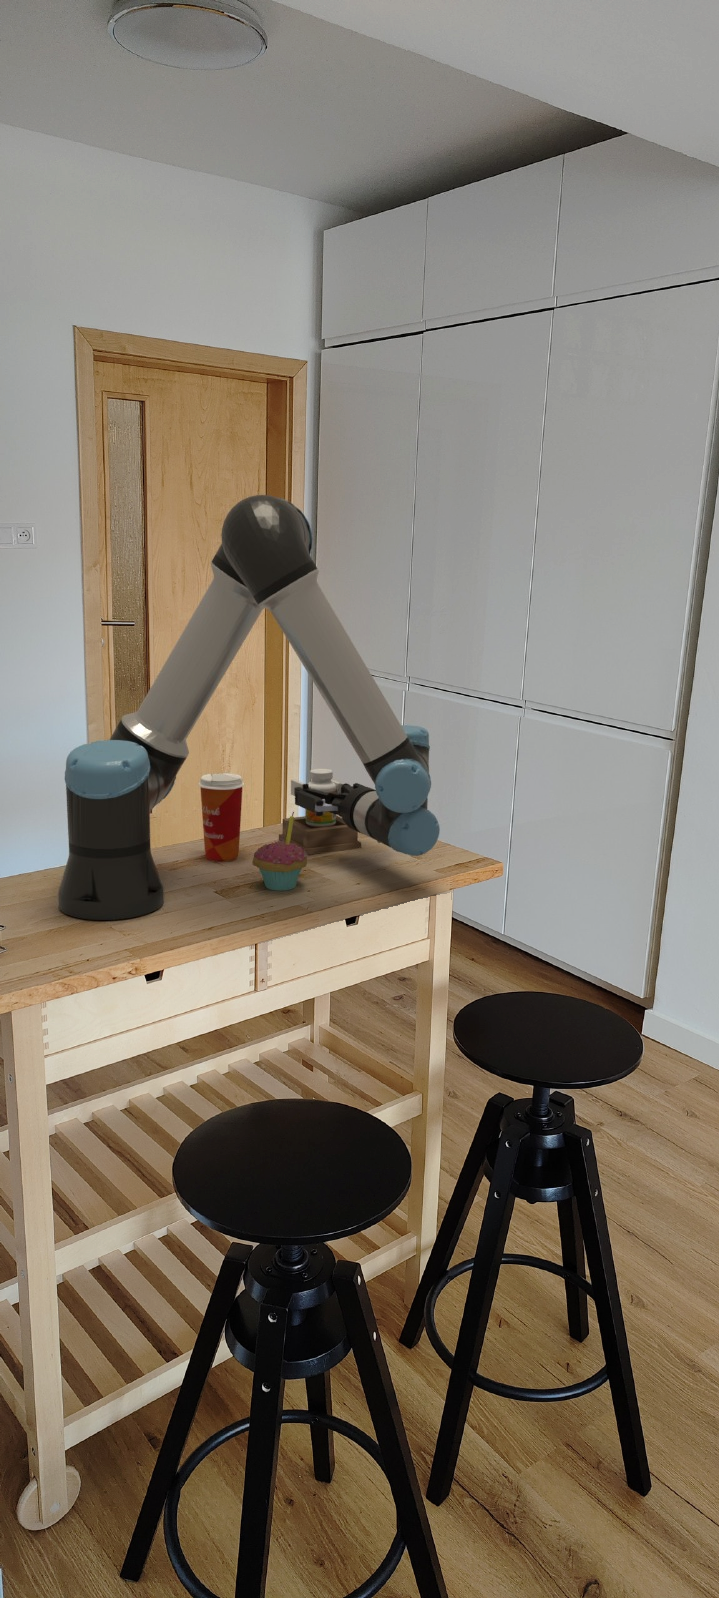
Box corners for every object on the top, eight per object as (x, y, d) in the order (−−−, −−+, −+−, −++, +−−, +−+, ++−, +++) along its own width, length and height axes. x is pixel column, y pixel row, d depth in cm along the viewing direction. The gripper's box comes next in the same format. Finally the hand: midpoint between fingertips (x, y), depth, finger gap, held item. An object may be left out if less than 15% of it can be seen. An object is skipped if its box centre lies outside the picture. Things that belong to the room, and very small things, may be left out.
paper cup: (193, 853, 186) (192, 773, 183) (236, 849, 189) (235, 771, 186) (207, 865, 179) (206, 783, 176) (251, 861, 182) (251, 780, 179)
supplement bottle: (300, 822, 194) (301, 769, 192) (327, 819, 196) (328, 766, 194) (313, 829, 189) (314, 774, 187) (341, 825, 192) (341, 772, 189)
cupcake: (298, 876, 174) (299, 804, 172) (314, 892, 166) (315, 817, 164) (246, 881, 171) (246, 807, 169) (260, 897, 164) (260, 820, 161)
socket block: (305, 855, 186) (306, 832, 185) (278, 839, 196) (278, 818, 195) (361, 847, 192) (361, 826, 191) (332, 833, 201) (332, 812, 200)
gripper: (321, 841, 173) (261, 810, 192) (418, 828, 181) (351, 800, 201) (321, 796, 171) (261, 769, 191) (419, 785, 180) (352, 760, 199)
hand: (307, 785), depth 196 cm, fingers closed on supplement bottle, 5 cm apart
